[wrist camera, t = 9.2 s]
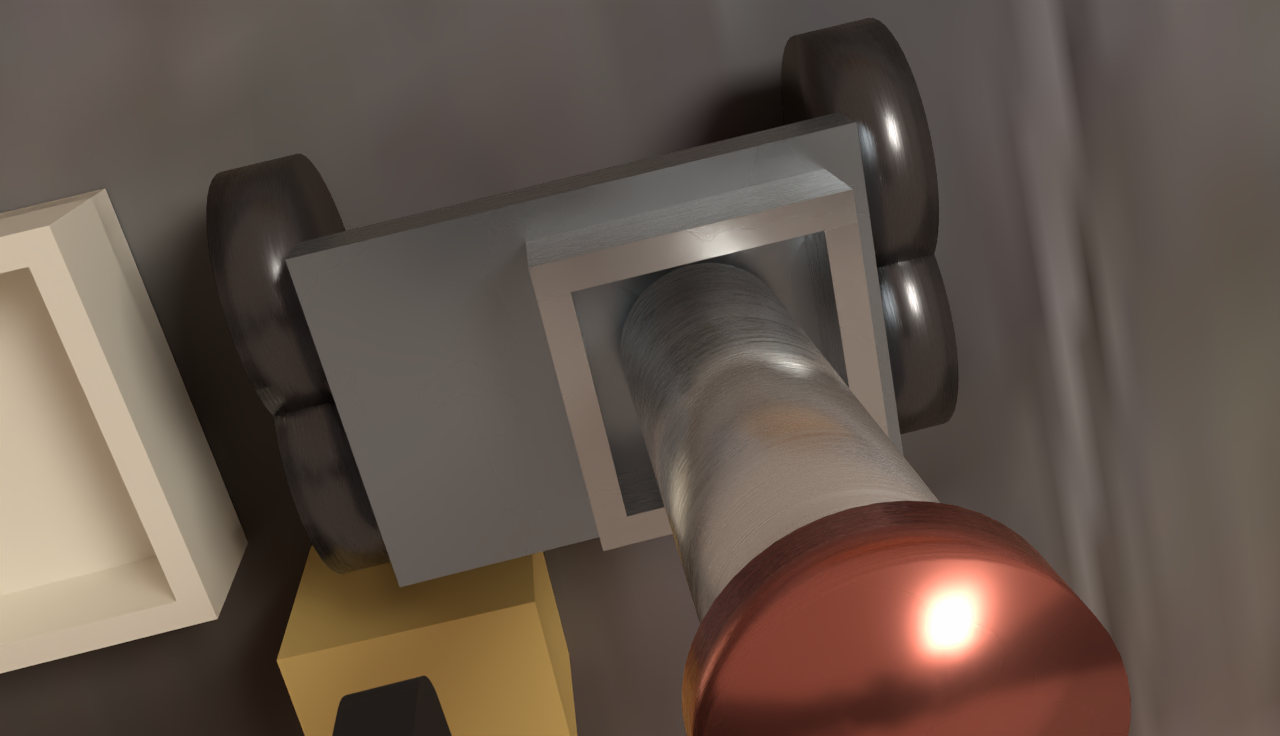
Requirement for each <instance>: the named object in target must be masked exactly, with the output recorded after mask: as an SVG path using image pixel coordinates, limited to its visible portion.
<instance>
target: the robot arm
mask: <svg viewBox="0 0 1280 736" xmlns="http://www.w3.org/2000/svg"><path fill="white" fill-rule="evenodd" d="M332 736H452V735H451V732H450V729H449V726H448V724H447V721H446V718H445V715H444V712H443V710H442V707H441V704H440V701H439V698H438V696H437V693H436V691H435V688H434V686H433V684H432V683H431V681H430V679H429V678H428V677H427V676H425V675H424V676H420V677H416V678H412V679H408V680H404V681H400V682H396V683H392V684H388V685H384V686H380V687H376V688H372V689H368V690H364V691H360V692H356V693H352V694H348V695H344V696H343V697H342V699H341V701H340V703H339V706H338V710H337V715H336V720H335V725H334V729H333V734H332Z"/></svg>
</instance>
